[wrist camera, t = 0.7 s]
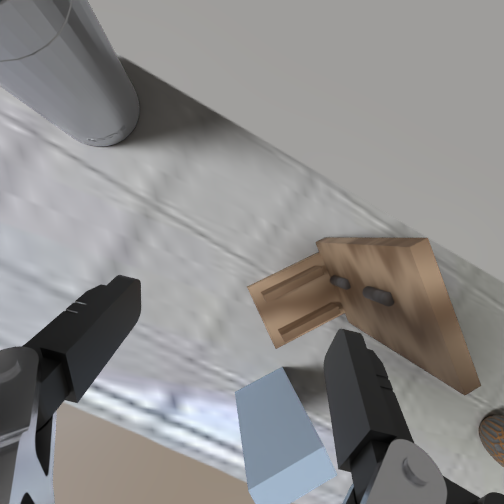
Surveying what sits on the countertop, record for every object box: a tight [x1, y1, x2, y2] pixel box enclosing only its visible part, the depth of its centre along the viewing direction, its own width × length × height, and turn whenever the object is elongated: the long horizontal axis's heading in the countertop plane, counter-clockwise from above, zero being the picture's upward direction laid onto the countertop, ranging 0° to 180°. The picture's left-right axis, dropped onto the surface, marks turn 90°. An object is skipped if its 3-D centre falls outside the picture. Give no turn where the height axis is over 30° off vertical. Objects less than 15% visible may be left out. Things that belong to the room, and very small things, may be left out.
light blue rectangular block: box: [235, 367, 337, 504], centre depth 27 cm, size 3×7×13 cm, turn 114°
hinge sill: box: [247, 238, 481, 395], centre depth 25 cm, size 12×12×17 cm
